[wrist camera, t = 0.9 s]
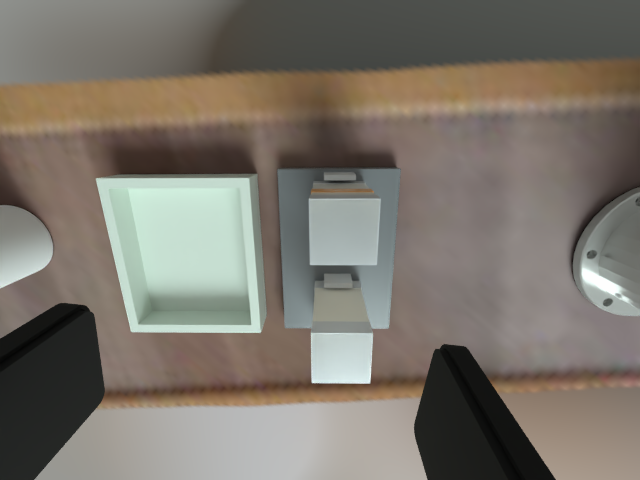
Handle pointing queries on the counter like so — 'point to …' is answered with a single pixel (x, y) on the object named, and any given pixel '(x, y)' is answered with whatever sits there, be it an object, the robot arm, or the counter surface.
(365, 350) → the block
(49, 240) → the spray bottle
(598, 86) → the counter surface
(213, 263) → the tray
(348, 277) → the block
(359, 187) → the block
